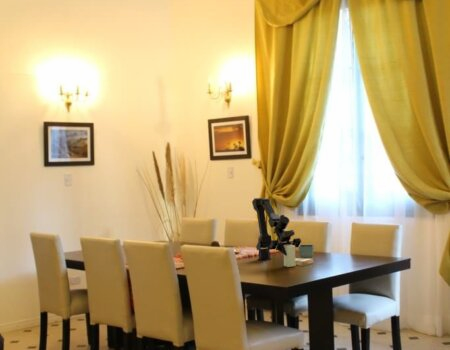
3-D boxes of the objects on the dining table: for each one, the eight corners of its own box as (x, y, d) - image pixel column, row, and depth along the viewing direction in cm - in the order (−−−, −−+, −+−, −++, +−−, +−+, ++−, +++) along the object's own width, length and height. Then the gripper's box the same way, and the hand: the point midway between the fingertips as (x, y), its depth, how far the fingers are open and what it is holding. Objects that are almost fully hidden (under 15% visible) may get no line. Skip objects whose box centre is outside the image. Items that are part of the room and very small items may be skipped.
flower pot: (313, 261, 384) (313, 246, 384) (299, 261, 386) (298, 246, 386) (314, 258, 393) (313, 244, 393) (300, 259, 395) (299, 244, 394)
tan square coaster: (287, 265, 374) (287, 260, 374) (297, 262, 383) (297, 257, 383) (304, 266, 367) (304, 261, 367) (313, 263, 376) (313, 258, 376)
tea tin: (283, 265, 368) (283, 245, 368) (291, 265, 370) (290, 244, 370) (287, 266, 363) (287, 246, 363) (295, 266, 365) (295, 245, 365)
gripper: (271, 226, 367) (280, 247, 356) (299, 224, 374) (309, 244, 363) (265, 238, 374) (274, 259, 364) (293, 236, 381) (302, 256, 371)
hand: (290, 254), depth 365 cm, fingers closed on tea tin, 5 cm apart
